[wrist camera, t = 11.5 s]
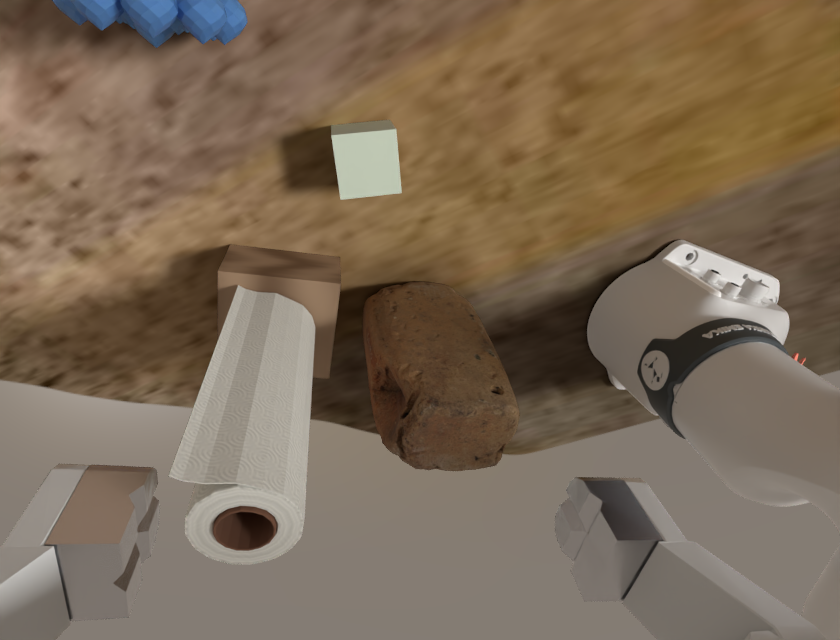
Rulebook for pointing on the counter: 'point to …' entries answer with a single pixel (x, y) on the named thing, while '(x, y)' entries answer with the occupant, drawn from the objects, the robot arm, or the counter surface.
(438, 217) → the counter surface
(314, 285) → the walnut block
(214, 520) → the paper towel roll
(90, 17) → the grapes
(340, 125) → the green cube
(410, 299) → the block
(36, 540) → the robot arm
